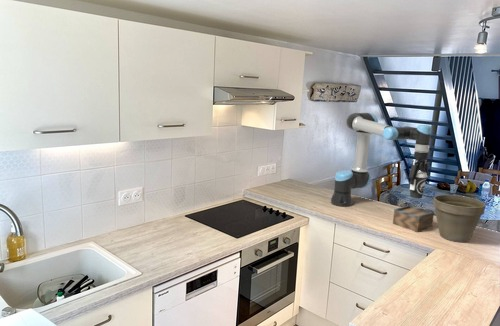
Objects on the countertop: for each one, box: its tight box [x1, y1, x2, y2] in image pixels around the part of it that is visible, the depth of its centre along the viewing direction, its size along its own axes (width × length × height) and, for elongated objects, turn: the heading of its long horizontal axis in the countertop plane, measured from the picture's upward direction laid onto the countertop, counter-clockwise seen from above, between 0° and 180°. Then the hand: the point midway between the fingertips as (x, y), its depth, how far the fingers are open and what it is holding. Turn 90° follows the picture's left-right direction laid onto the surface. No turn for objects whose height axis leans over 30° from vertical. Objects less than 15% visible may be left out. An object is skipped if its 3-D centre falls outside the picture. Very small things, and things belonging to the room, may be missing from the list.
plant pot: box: [432, 194, 487, 243], centre depth 200 cm, size 25×25×22 cm
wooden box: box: [392, 205, 435, 233], centre depth 218 cm, size 16×16×9 cm
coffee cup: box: [409, 170, 429, 199], centre depth 213 cm, size 10×10×15 cm
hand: (416, 188), depth 214 cm, fingers closed on coffee cup, 9 cm apart
